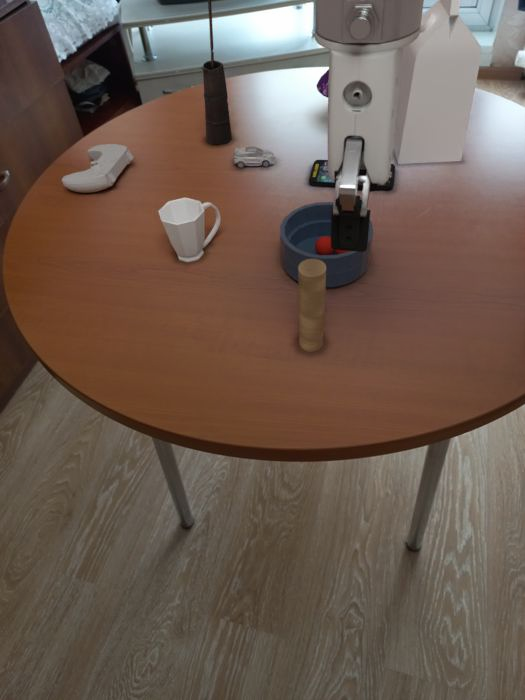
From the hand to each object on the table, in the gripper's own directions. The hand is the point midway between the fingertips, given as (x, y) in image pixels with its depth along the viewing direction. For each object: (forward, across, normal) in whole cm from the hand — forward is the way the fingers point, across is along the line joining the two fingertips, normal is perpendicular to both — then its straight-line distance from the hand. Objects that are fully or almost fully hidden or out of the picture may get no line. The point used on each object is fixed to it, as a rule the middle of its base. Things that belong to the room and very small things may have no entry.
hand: (355, 217), depth 49 cm
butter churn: (+21, +54, +33) cm, 66 cm away
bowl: (+22, +20, +6) cm, 30 cm away
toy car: (+21, +46, +24) cm, 56 cm away
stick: (+22, +3, +5) cm, 23 cm away
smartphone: (+22, +44, +5) cm, 49 cm away
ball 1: (+20, +21, +6) cm, 29 cm away
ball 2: (+20, +21, +3) cm, 29 cm away
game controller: (+21, +38, +52) cm, 67 cm away
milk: (+22, +56, -8) cm, 61 cm away
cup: (+22, +20, +26) cm, 39 cm away
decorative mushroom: (+22, +61, +8) cm, 66 cm away
